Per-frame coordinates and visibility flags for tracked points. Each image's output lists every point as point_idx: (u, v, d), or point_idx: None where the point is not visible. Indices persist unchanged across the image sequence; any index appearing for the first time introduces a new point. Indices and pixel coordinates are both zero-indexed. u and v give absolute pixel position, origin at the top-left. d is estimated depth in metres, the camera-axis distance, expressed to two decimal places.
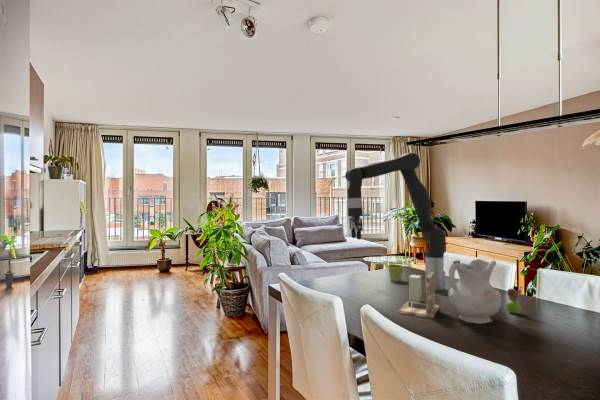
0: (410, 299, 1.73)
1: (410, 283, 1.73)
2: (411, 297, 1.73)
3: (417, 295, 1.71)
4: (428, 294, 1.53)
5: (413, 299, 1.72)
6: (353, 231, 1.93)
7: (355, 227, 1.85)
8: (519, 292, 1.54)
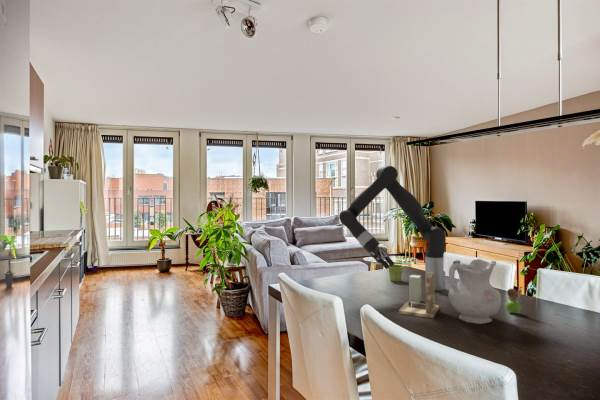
0: (410, 299, 1.73)
1: (410, 283, 1.73)
2: (411, 297, 1.73)
3: (417, 295, 1.71)
4: (428, 294, 1.53)
5: (413, 299, 1.72)
6: (387, 260, 1.85)
7: (377, 260, 1.79)
8: (519, 292, 1.54)
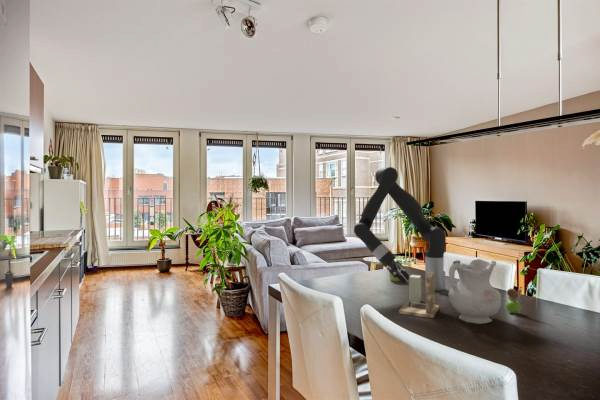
0: (410, 299, 1.73)
1: (410, 283, 1.73)
2: (411, 297, 1.73)
3: (417, 295, 1.71)
4: (428, 294, 1.53)
5: (413, 299, 1.72)
6: (404, 274, 1.81)
7: (394, 274, 1.75)
8: (519, 292, 1.54)
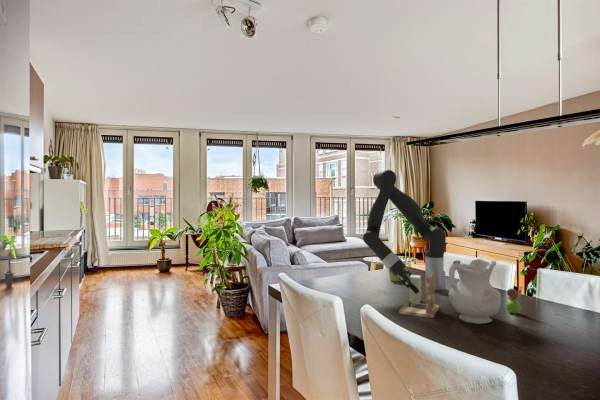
0: (410, 299, 1.73)
1: None
2: (411, 297, 1.73)
3: (417, 295, 1.71)
4: (428, 294, 1.53)
5: (413, 299, 1.72)
6: None
7: (406, 284, 1.74)
8: (519, 292, 1.54)
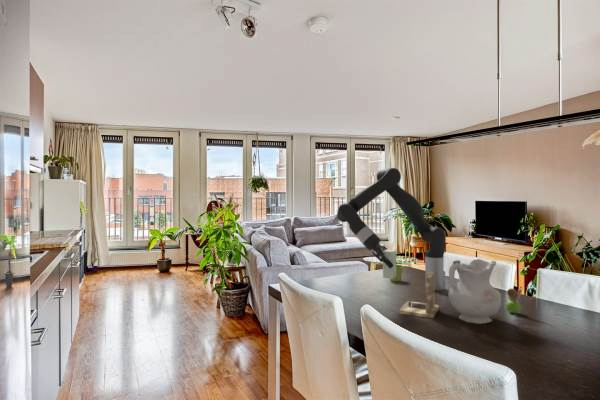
0: (384, 274, 1.66)
1: None
2: (385, 272, 1.65)
3: (391, 270, 1.64)
4: (428, 294, 1.53)
5: (387, 274, 1.65)
6: None
7: (380, 258, 1.66)
8: (519, 292, 1.54)
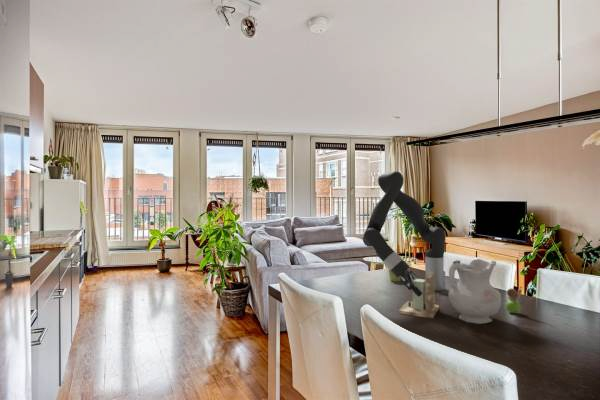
0: (414, 305, 1.59)
1: None
2: (415, 303, 1.59)
3: (421, 301, 1.58)
4: (428, 294, 1.53)
5: (416, 305, 1.59)
6: None
7: (408, 286, 1.59)
8: (519, 292, 1.54)
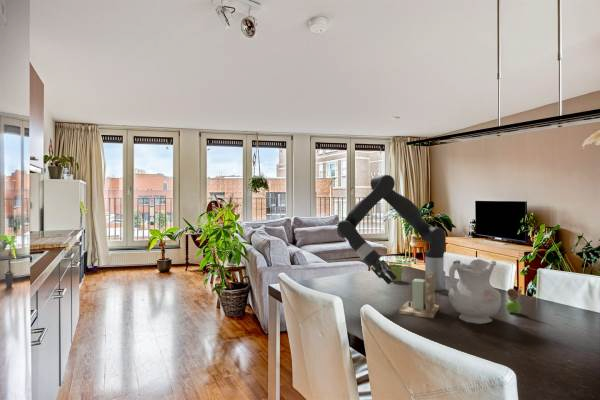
0: (414, 305, 1.59)
1: (414, 288, 1.59)
2: (415, 303, 1.59)
3: (421, 301, 1.58)
4: (428, 294, 1.53)
5: (416, 305, 1.59)
6: (389, 273, 1.72)
7: (379, 274, 1.67)
8: (519, 292, 1.54)
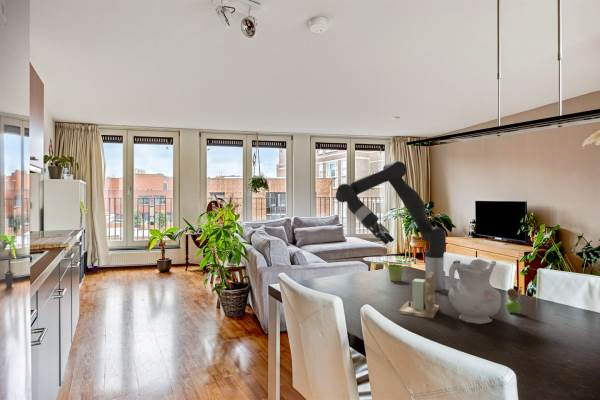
0: (414, 305, 1.59)
1: (414, 288, 1.59)
2: (415, 303, 1.59)
3: (421, 301, 1.58)
4: (428, 294, 1.53)
5: (416, 305, 1.59)
6: (387, 236, 1.76)
7: None
8: (519, 292, 1.54)
